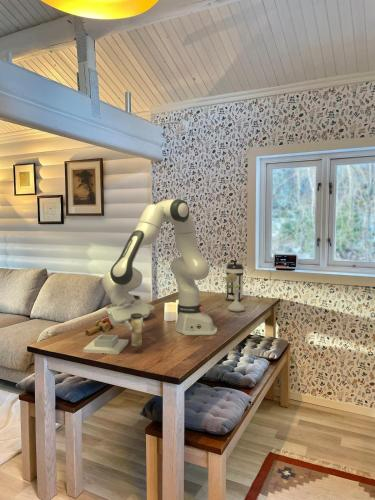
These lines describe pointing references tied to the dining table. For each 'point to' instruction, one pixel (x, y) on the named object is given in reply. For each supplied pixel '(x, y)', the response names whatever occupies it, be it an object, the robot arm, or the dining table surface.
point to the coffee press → (238, 271)
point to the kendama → (100, 326)
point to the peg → (136, 329)
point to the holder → (106, 345)
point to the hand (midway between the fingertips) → (137, 328)
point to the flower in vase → (235, 305)
